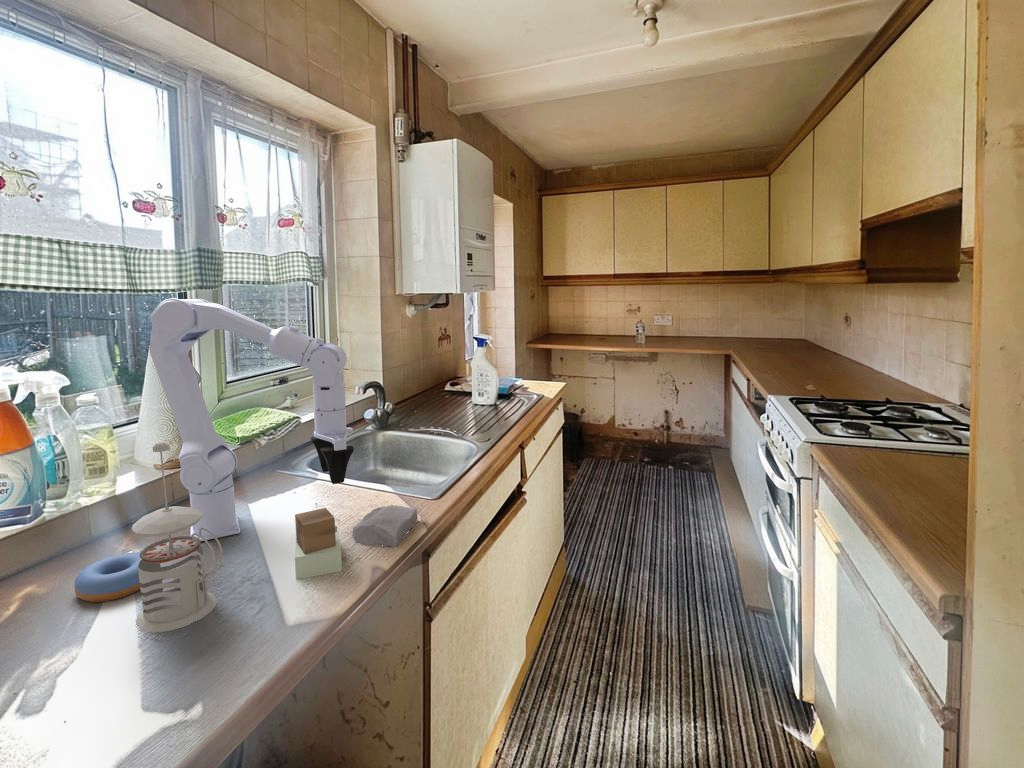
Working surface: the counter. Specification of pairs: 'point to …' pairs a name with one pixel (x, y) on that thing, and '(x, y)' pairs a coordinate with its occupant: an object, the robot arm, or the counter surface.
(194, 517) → the french press
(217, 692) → the counter surface
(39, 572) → the counter surface
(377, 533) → the stone block
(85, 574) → the doughnut
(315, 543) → the walnut cube
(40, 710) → the counter surface
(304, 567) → the sage block
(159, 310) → the robot arm
